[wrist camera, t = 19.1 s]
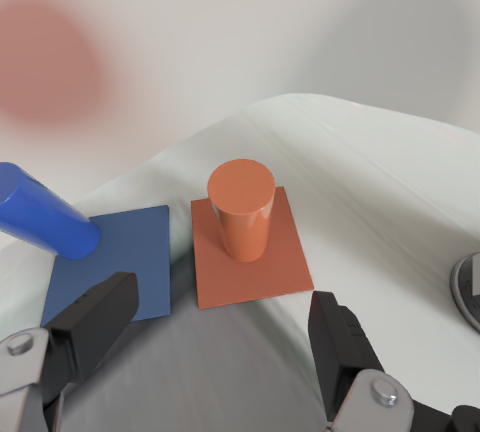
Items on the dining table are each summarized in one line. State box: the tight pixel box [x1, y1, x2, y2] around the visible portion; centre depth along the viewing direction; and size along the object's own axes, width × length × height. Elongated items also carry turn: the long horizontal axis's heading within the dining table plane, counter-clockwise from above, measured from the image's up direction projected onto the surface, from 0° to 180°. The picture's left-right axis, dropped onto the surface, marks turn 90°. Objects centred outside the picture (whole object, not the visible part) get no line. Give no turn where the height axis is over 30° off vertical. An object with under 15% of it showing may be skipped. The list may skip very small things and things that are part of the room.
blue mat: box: [40, 205, 170, 328], centre depth 27 cm, size 13×13×1 cm
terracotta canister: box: [207, 159, 275, 262], centre depth 22 cm, size 5×5×11 cm
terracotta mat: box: [191, 187, 314, 309], centre depth 27 cm, size 12×13×1 cm
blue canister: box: [0, 162, 101, 260], centre depth 23 cm, size 5×5×11 cm
